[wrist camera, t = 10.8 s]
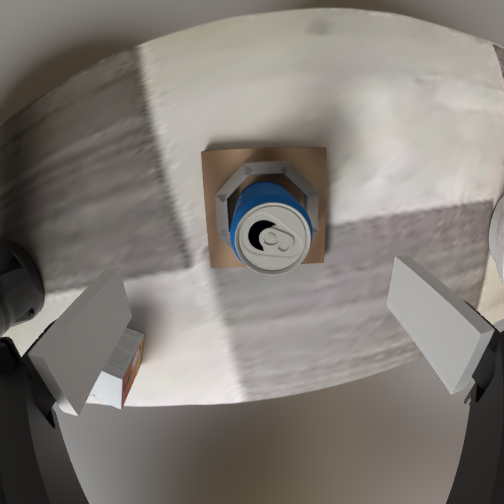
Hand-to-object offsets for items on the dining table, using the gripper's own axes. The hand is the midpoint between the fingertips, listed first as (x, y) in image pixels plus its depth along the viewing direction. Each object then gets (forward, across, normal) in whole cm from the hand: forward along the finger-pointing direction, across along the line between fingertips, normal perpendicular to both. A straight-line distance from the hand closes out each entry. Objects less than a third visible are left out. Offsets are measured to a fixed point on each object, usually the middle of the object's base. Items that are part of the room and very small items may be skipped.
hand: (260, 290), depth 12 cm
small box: (+22, -21, -22) cm, 38 cm away
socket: (+22, +2, -1) cm, 22 cm away
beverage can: (+20, +2, 0) cm, 21 cm away
